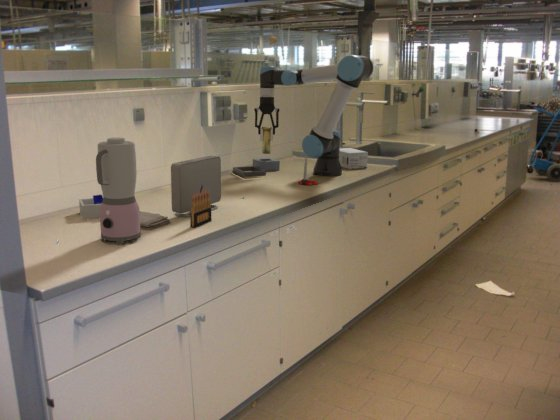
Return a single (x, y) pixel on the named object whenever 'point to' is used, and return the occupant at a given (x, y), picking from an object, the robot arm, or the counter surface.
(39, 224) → the counter surface
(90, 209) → the box
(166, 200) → the counter surface
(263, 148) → the amber glass vase
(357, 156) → the supplement box
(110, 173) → the blender
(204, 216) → the ammunition clip
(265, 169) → the block
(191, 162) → the network device
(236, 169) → the tray
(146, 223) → the washcloth
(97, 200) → the cable clip
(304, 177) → the red base upright rod
